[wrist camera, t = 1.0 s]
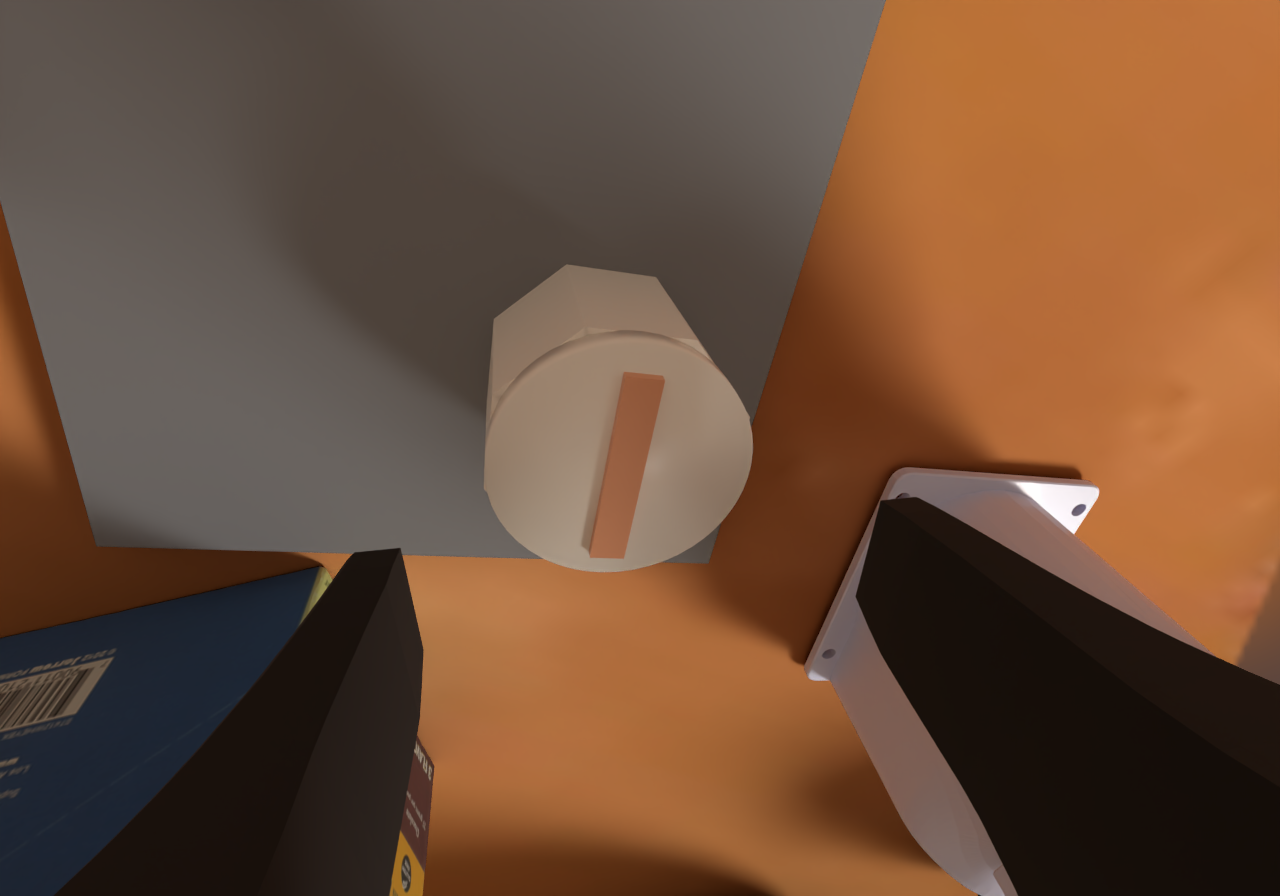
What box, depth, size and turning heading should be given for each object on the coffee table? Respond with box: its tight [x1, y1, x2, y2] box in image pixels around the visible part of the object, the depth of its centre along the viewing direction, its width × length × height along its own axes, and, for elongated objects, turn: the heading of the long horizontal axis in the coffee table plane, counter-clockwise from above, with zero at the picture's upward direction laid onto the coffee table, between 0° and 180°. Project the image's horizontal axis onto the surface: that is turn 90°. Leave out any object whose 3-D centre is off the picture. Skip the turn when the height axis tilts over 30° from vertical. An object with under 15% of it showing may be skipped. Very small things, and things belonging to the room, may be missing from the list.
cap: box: [484, 264, 753, 572], centre depth 14 cm, size 5×5×5 cm
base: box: [0, 0, 886, 564], centre depth 12 cm, size 20×16×4 cm
